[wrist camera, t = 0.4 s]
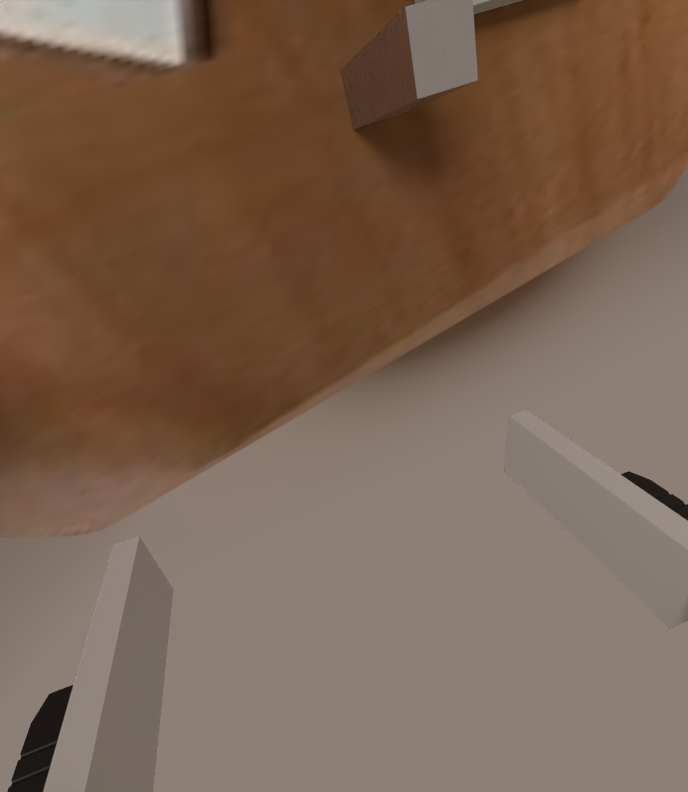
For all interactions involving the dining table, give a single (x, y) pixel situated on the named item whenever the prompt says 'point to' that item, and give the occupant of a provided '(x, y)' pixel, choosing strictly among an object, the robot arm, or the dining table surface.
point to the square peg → (412, 61)
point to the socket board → (484, 4)
